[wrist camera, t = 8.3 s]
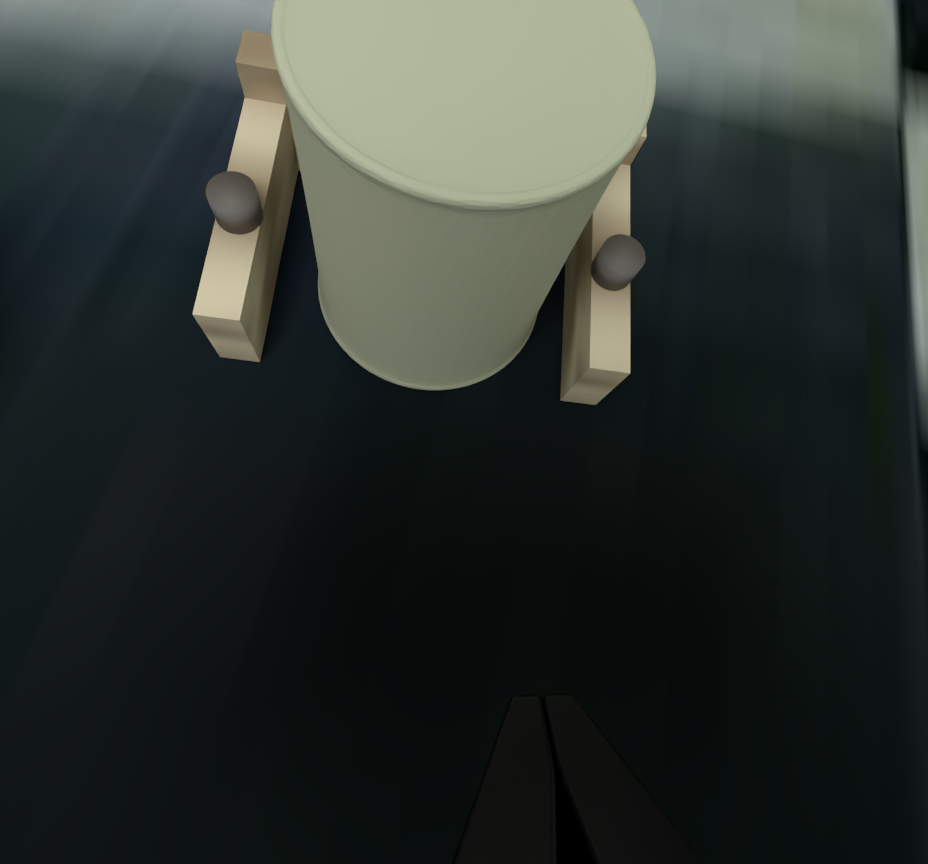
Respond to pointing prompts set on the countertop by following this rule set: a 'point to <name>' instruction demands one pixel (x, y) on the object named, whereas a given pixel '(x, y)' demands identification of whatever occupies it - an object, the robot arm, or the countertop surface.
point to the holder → (266, 218)
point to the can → (454, 164)
